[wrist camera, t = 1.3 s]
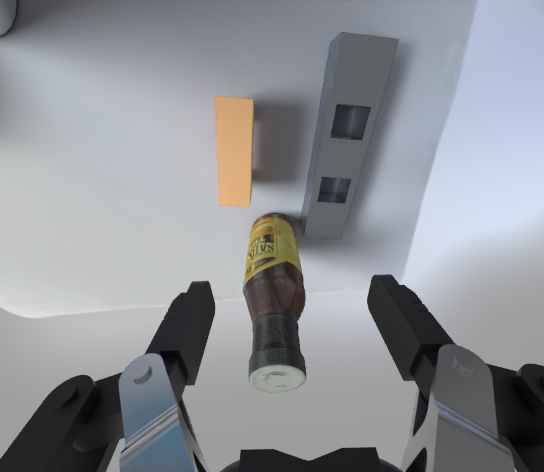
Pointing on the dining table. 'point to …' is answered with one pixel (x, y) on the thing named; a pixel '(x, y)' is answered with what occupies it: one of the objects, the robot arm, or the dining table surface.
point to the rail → (352, 149)
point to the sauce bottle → (274, 305)
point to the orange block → (234, 149)
